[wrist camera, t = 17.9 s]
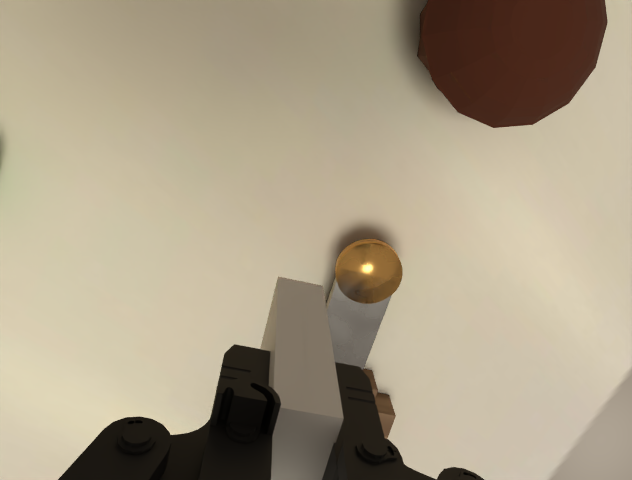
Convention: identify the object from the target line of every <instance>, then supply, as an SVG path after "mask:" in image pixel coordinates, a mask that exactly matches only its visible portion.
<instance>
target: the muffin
mask: <svg viewBox="0 0 632 480" xmlns="http://www.w3.org/2000/svg"><path fill="white" fill-rule="evenodd" d="M606 26H607V14H606V6H605V0H428V3H427V4H426V6H425V8H424V9H423V11H422V12H421V14H420V42H419V48H418V55H417V56H418V57H419V59H420V60H421V61H422V63H423V64H424V65H425V67H426V68H427V69H428V71H429V72H430V75H431V77H432V80H433V82H434V83H435V85H436V87H437V88H438V89H439V90H440V91H441V92H442V93H443V94H444V95H445V97H446V98H447V99H448V100H449V102H450V103H451V104H452V105H453V107H454V108H455V109H456V110H457V112H459V113H461V114H463V115H465V116H468V117H470V118H472V119H475V120H477V121H479V122H481V123H484V124H486V125H488V126H491V127H493V128H497V127H509V126H521V125H533V124H534V123H536V122H538V121H540V120H541V119H543V118H545V117H546V116H548V115H550V114H551V113H553V112H555V111H557V110H558V109H560V108H562V107H563V106H565V105H567V104H568V103H569V102H570V101H571V100H572V98H573V97H574V96H575V94H576V93H577V91H578V90H579V89H580V87H581V86H582V85H583V83H584V82H585V81H586V79H587V78H588V77H589V75H590V74H591V73H592V71H593V70H594V69H595V67H596V63H597V60H598V56H599V52H600V48H601V45H602V41H603V37H604V33H605V30H606Z"/></svg>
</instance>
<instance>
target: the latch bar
mask: <svg viewBox="0 0 632 480" xmlns="http://www.w3.org/2000/svg"><path fill="white" fill-rule="evenodd" d="M335 274H336V277H335V280H334V283H333V286H332V289H331V292H330V295H329V298H328V301H327V304H326V309H327V315H328V322H329V328H330V334H331V341H332V347H333V354H334V360H335V362H338V363H343V364H348V365H354V366H359V367H361V369H362V370H363V369H364V366H365V363H366V361H367V358H368V355H369V353H370V350H371V348H372V345H373V342H374V340H375V337H376V335H377V332H378V329H379V327H380V324H381V321H382V319H383V316H384V314H385V311H386V308H387V306H388V303H389V301H390V298H391V295H392V294H393V293H394V292H395V291H396V290H397V288H398V287H399V285H400V282H401V279H402V265H401V262H400V260H399V258H398V255H397V253H396V252H395V250H394V249H393V248H392V247H391V246H390V245H388V244H387V243H385V242H383V241H380V240H376V239H363V240H359V241H356V242H353V243H352V244H350V245H348V246H347V247H346V248H345V249H344V250H343V251H342V252H341V253H340V255H339V257H338V259H337V261H336V266H335Z"/></svg>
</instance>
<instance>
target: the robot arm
mask: <svg viewBox="0 0 632 480" xmlns="http://www.w3.org/2000/svg"><path fill="white" fill-rule="evenodd" d="M375 402H376V401H375V398H374V394H373V390H372V386H371V382H370V379H369V377H368V376H367V375H366V374H365V372H364V371H363V370H362V369H361V367H359V366H354V365H348V364H343V363H338V362H335V360H334V354H333V347H332V341H331V334H330V328H329V322H328V315H327V309H326V302H325V296H324V290H323V286H321V285H316V284H311V283H306V282H302V281H297V280H292V279H287V278H282V277H278V279H277V283H276V287H275V291H274V295H273V300H272V304H271V308H270V312H269V316H268V320H267V324H266V328H265V332H264V336H263V340H262V344H261V348H260V349H256V348H251V347H246V346H240V345H235V344H234V345H233V346H232V347H231V348H230V349H229V350H228V351H227V352H226V353H225V354H224V358H223V363H222V367H221V372H220V377H219V381H218V386H217V390H216V395H215V399H214V404H213V409H212V413H211V417H210V420H209V421H208V422H207V423H206V424H205V425H204V426H203V427H201V428H200V429H198V430H195V431H193V432H190V433H185V434H178V435H170V432H169V431H168V430H167V429H166V428H165V427H164V425H163V424H161V423H159V422H157V421H155V420H153V419H149V418H144V417H127V418H123V419H120V420H117V421H115V422H113V423H111V424H110V425H109V426H107V427H106V428H105V429H104V430H103V431H102V432H101V433H100V434H99V435H98V436H97V437H96V438H95V440H94V441H93V442H92V443H91V444H90V445H89V446H88V447H87V448H86V450H85V451H84V452H83V453H82V454H81V455H80V456H79V457H78V458H77V459H76V461H75V462H74V463H73V464H72V465H71V466H70V467H69V468H68V469H67V470H66V472H65V473H64V474H63V475H62V476H61V477H60V478H59V479H58V480H436V479H434V478H431V477H429V476H427V475H424V474H422V473H419V472H417V471H415V470H413V469H411V468H409V467H407V466H406V465H404V463H403V460H402V456H401V455H400V453H399V451H398V449H397V448H396V447H395V446H394V445H393V444H392V443H391V442H390V441H389V440H388V439H386V438H385V437H384V433H383V429H382V425H381V421H380V417H379V413H378V409H377V405H376V404H375ZM437 480H484V479H483V478H481V477H480V476H478V475H477V474H475V473H473V472H471V471H468V470H466V469H463V468H456V467H451V468H447V469H444V470H443V471H442V472H441V473H440V474H439V476H438V478H437Z"/></svg>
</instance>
